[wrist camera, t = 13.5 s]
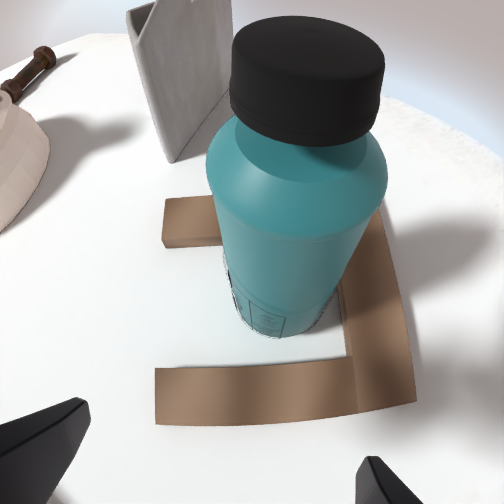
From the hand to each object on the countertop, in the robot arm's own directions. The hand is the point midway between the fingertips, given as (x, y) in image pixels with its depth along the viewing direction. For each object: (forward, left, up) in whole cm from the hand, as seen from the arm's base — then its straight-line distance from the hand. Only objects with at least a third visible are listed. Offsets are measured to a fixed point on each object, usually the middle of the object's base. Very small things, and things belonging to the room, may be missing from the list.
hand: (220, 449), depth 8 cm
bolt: (+62, -10, -14) cm, 64 cm away
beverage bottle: (+4, -9, -13) cm, 16 cm away
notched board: (+4, -9, -13) cm, 16 cm away
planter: (+27, -19, -13) cm, 36 cm away
